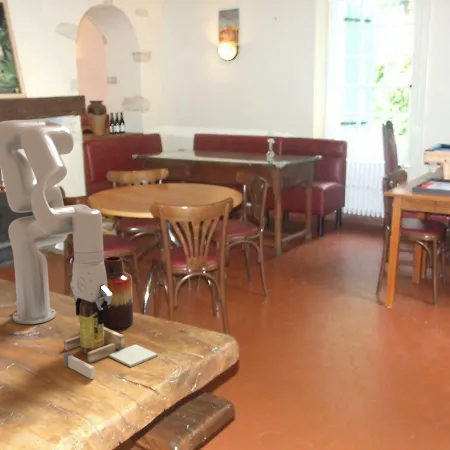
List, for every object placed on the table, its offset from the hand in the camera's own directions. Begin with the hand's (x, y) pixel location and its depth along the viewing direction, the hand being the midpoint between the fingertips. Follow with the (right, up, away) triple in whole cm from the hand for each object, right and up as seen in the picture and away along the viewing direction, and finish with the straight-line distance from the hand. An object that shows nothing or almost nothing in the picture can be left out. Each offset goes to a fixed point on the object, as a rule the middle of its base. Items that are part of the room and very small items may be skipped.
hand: (92, 318), depth 159 cm
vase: (+2, -5, +21) cm, 22 cm away
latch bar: (-1, -12, -11) cm, 16 cm away
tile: (+11, -10, -1) cm, 15 cm away
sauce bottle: (0, -9, +2) cm, 9 cm away
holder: (0, -9, +2) cm, 9 cm away
